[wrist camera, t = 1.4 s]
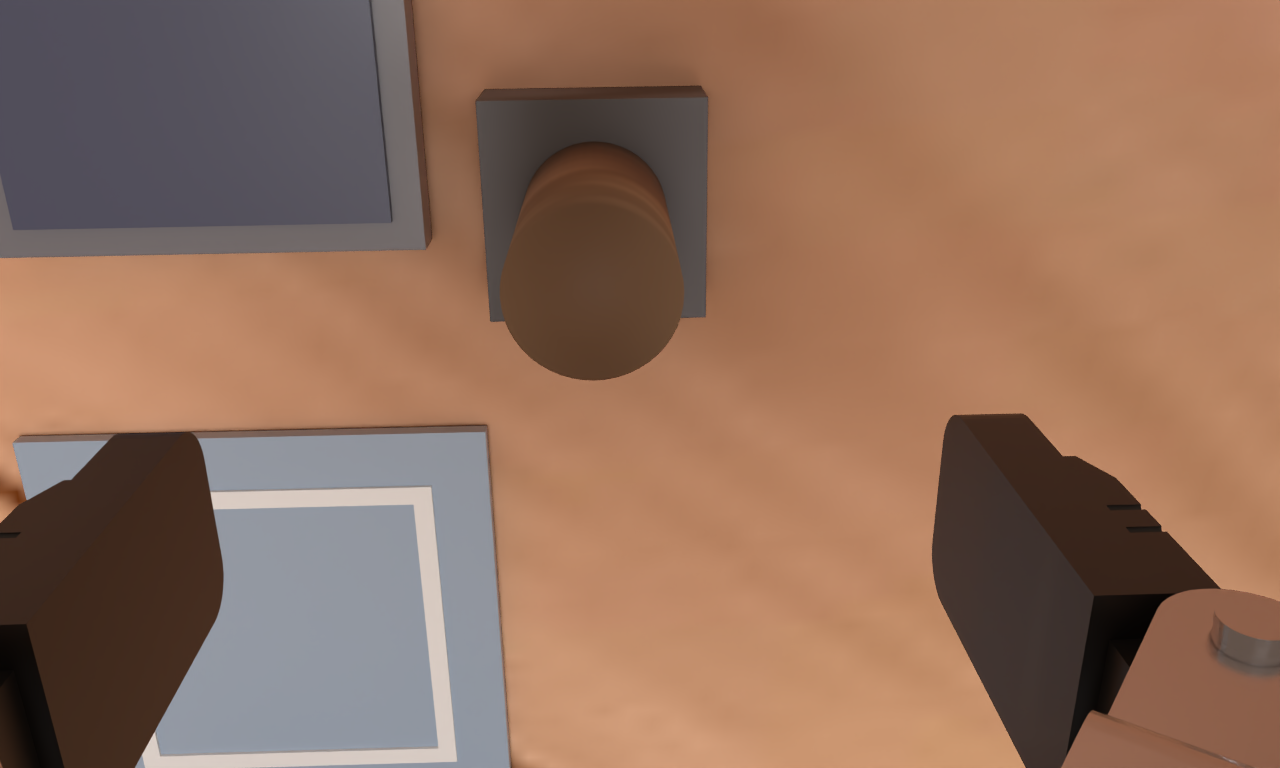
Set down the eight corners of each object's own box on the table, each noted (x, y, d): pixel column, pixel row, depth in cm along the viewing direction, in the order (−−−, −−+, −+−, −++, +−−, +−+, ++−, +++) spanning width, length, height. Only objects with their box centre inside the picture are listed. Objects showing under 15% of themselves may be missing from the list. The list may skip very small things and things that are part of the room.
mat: (486, 425, 29) (485, 433, 28) (512, 788, 33) (511, 800, 33) (19, 436, 28) (10, 444, 28) (110, 800, 33) (103, 812, 32)
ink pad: (400, -125, 24) (390, -128, 23) (432, 238, 27) (424, 251, 26) (-71, -119, 23) (-104, -121, 22) (15, 246, 27) (-11, 260, 25)
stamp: (700, 85, 26) (739, 146, 18) (698, 291, 28) (733, 422, 20) (484, 88, 26) (435, 152, 18) (498, 295, 27) (458, 429, 20)
